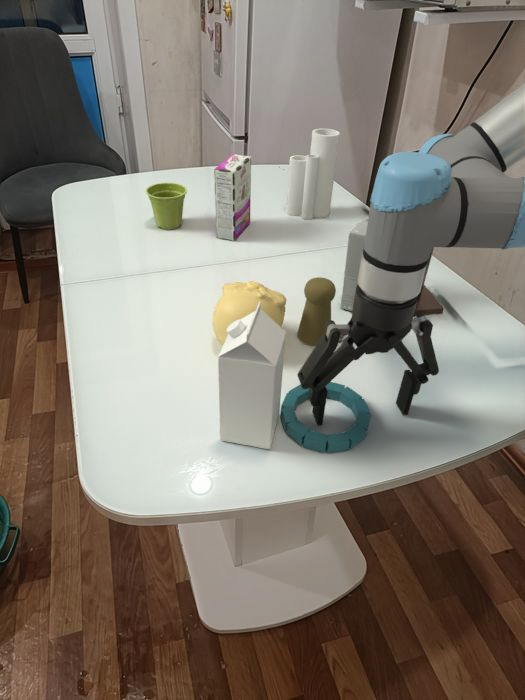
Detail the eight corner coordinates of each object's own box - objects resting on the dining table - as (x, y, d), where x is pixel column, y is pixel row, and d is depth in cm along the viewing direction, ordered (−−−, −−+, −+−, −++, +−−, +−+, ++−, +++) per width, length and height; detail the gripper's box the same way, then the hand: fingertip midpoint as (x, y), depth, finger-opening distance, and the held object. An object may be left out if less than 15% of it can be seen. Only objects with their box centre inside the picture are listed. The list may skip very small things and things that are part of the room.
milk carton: (279, 414, 75) (288, 305, 63) (270, 450, 69) (277, 339, 57) (232, 406, 76) (232, 297, 64) (219, 441, 70) (216, 329, 58)
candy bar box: (231, 220, 128) (232, 152, 117) (250, 223, 126) (252, 155, 116) (214, 238, 119) (213, 167, 109) (234, 242, 118) (235, 171, 108)
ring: (351, 385, 80) (353, 377, 79) (381, 446, 71) (383, 437, 70) (273, 394, 78) (274, 385, 77) (292, 457, 68) (293, 448, 67)
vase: (323, 206, 137) (333, 127, 124) (334, 217, 131) (344, 136, 119) (283, 209, 134) (289, 129, 122) (292, 221, 129) (299, 138, 116)
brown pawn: (325, 324, 93) (332, 271, 86) (335, 344, 89) (344, 289, 82) (293, 327, 92) (298, 273, 85) (302, 347, 88) (308, 292, 81)
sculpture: (290, 332, 91) (295, 279, 84) (263, 371, 82) (266, 315, 76) (233, 315, 94) (233, 263, 88) (201, 351, 86) (198, 296, 79)
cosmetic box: (370, 319, 95) (386, 241, 85) (335, 307, 98) (347, 231, 88) (385, 298, 101) (402, 223, 91) (352, 288, 104) (364, 214, 94)
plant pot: (191, 231, 122) (189, 196, 116) (151, 234, 120) (147, 198, 114) (186, 215, 129) (184, 181, 123) (148, 218, 127) (144, 183, 121)
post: (422, 289, 105) (441, 219, 95) (442, 313, 98) (465, 240, 88) (381, 292, 103) (396, 221, 94) (398, 317, 96) (416, 243, 87)
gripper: (464, 267, 67) (426, 388, 80) (282, 279, 63) (273, 404, 76) (495, 297, 61) (448, 422, 74) (297, 313, 57) (284, 442, 70)
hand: (360, 413), depth 75 cm, fingers open, 12 cm apart
